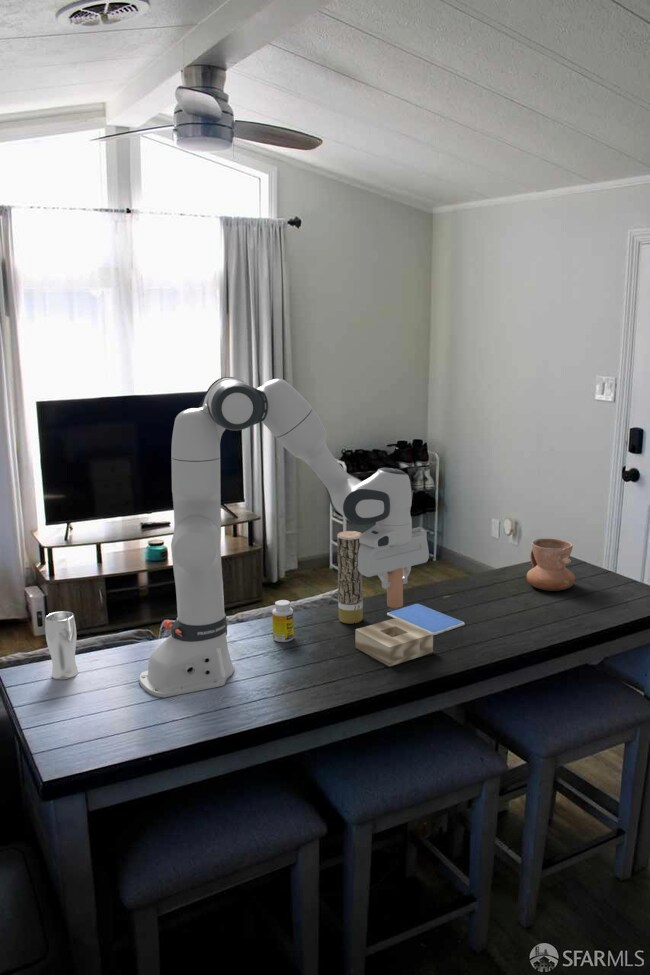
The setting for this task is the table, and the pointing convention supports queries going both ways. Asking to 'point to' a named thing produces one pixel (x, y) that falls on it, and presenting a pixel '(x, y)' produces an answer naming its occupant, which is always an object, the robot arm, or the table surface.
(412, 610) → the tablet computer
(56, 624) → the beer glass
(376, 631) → the socket block
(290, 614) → the supplement bottle
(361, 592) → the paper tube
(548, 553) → the ceramic jug
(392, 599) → the dowel
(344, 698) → the table surface
